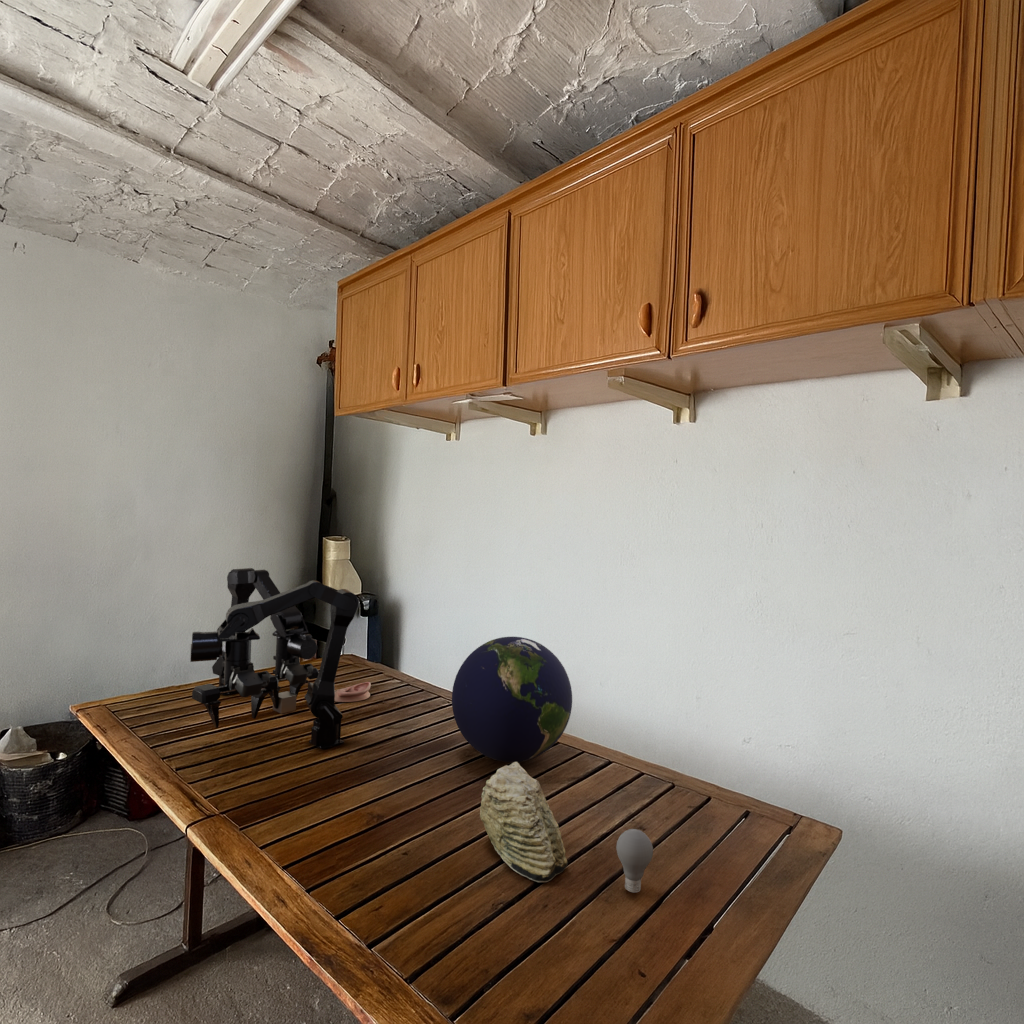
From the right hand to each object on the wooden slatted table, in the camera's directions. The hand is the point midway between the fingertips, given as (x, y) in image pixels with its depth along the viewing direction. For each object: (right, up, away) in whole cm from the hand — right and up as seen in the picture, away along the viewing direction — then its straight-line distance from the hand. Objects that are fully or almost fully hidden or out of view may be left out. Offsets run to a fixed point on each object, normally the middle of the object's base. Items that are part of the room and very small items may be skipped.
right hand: (235, 722), depth 152 cm
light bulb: (+87, -13, -47) cm, 99 cm away
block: (0, -7, +31) cm, 32 cm away
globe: (+66, -11, +6) cm, 67 cm away
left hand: (0, -6, +31) cm, 32 cm away
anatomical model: (+15, -8, +47) cm, 50 cm away
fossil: (+68, -12, -38) cm, 78 cm away
